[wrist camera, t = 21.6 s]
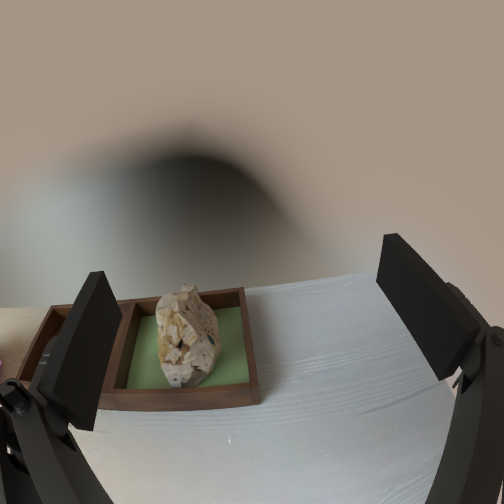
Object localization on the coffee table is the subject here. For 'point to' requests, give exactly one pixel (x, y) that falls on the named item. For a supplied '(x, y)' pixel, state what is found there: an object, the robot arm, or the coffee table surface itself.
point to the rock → (186, 337)
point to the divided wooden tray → (148, 363)
